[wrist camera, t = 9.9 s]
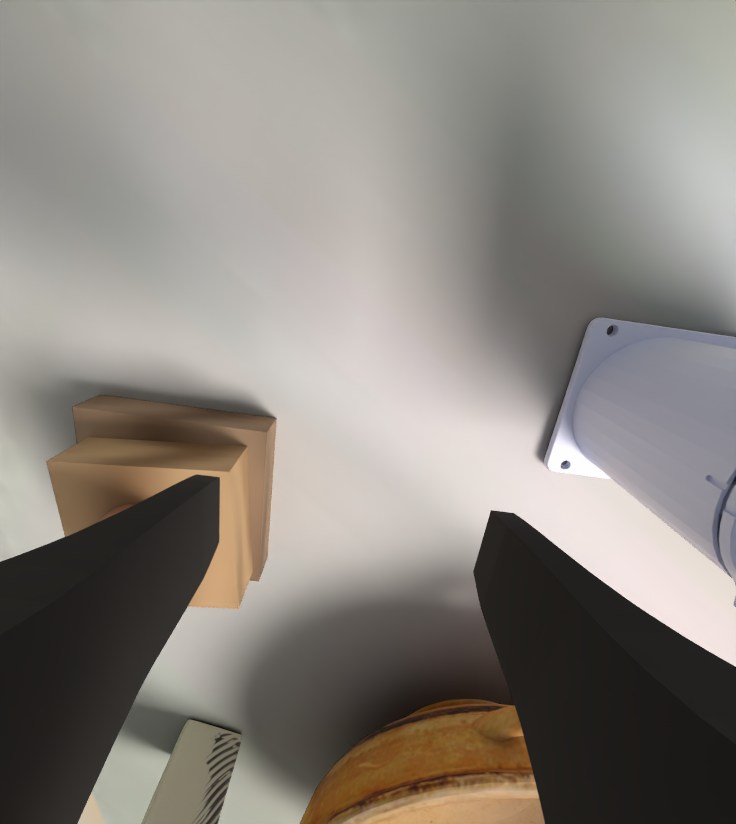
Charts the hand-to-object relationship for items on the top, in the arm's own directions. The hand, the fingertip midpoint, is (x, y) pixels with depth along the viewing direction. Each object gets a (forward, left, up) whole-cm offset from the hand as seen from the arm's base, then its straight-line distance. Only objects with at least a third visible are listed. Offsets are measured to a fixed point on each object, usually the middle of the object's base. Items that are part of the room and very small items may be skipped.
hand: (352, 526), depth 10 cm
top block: (+9, +6, -8) cm, 13 cm away
